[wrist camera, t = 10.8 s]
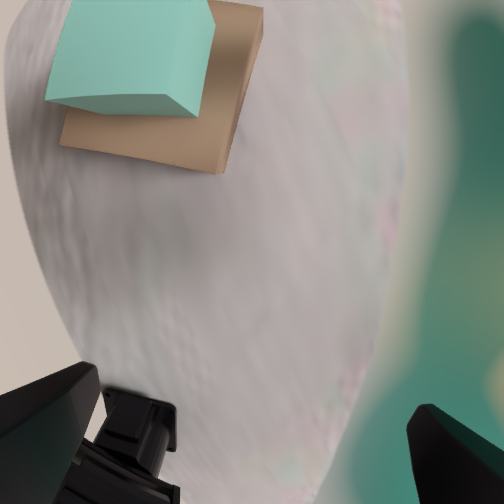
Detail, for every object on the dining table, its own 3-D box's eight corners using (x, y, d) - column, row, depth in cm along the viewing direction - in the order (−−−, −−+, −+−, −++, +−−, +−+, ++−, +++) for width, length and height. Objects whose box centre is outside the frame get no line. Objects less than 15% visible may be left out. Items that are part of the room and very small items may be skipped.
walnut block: (225, 173, 17) (214, 174, 14) (94, 147, 17) (59, 145, 13) (263, 37, 15) (263, 7, 11) (131, 24, 15) (106, -1, 11)
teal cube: (198, 117, 13) (166, 93, 8) (104, 114, 13) (44, 100, 8) (215, 25, 12) (196, -29, 7) (123, 28, 12) (77, -11, 7)
